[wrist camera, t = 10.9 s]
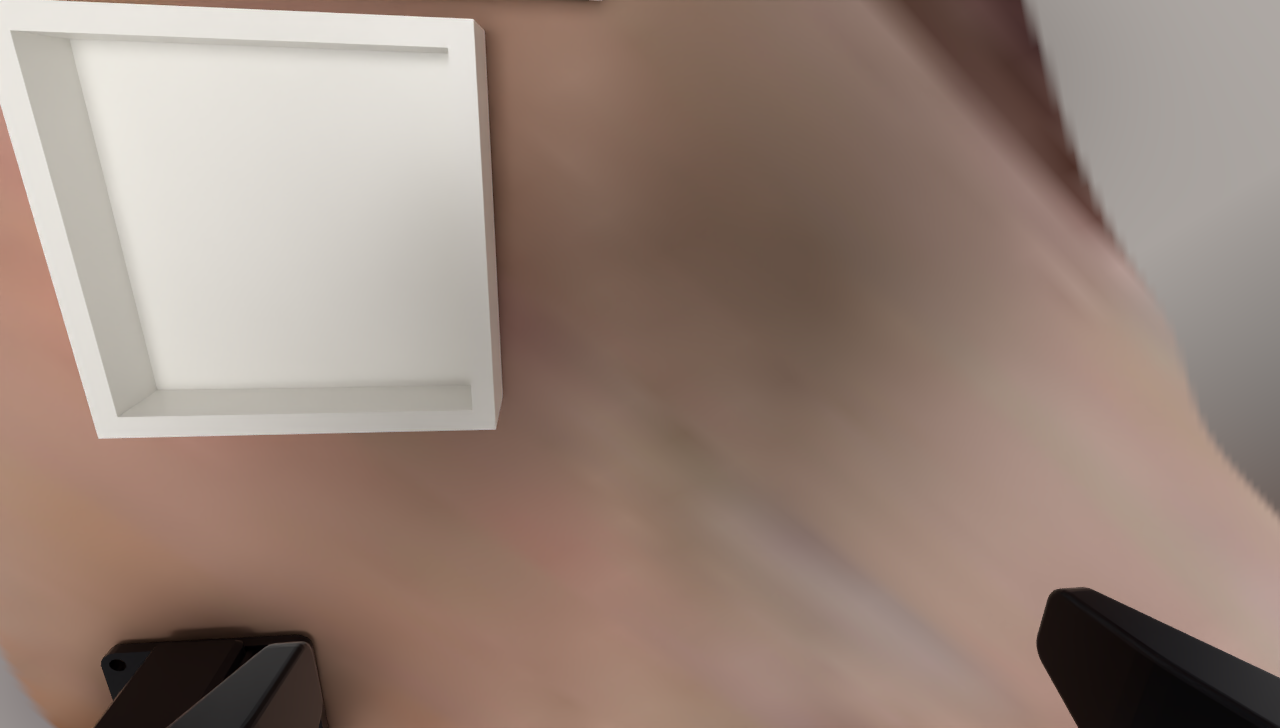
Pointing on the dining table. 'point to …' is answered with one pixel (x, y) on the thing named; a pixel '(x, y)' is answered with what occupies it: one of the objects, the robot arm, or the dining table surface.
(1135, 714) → the robot arm
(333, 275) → the small tray
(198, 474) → the dining table surface
